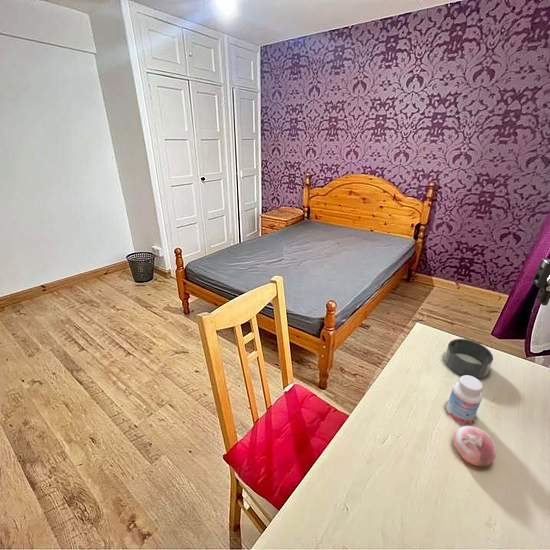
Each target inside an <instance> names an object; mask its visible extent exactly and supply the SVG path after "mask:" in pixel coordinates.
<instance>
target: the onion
mask: <svg viewBox="0 0 550 550" xmlns="http://www.w3.org/2000/svg"><path fill="white" fill-rule="evenodd" d="M452 441H453V445H454V448H455V450H456V452H457V453H458V454H459V456H460V457H461V458H462V459H463V460H464V461H466V462H467V463H468V464H471V465H473V466H475V467H487V466H490V465H491V464H492V463H493V462H494V461H495V459H496V458H497V446H496V444H495V442H494V440H493V439H492V437H491V436H490V435H489V434H488V433H487V432H486V431H485V430H483V429H481V428H479V427H476V426H473V425H463V426H460V427H459V428H457V430H455V431H454V434H453V436H452Z"/></svg>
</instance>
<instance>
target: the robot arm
mask: <svg viewBox="0 0 550 550" xmlns="http://www.w3.org/2000/svg"><path fill="white" fill-rule="evenodd" d="M531 282H532V283H533V284H535V286H536V287H537V288H538V289H539V291H538V294H537V296H536V299H537V301H538V302H539V304H540V305H541V306H548V304H549V301H550V259H549V258H548V257H543V258H541V261H540V263H539V265H538V267H537V269H536V271H535V273H534V276H533V278H532V281H531Z"/></svg>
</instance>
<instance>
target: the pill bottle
mask: <svg viewBox="0 0 550 550" xmlns="http://www.w3.org/2000/svg"><path fill="white" fill-rule="evenodd" d="M482 390H483V383H482V382H481V381H480V379H477V378H475V377H472V376H469V375H464V376H460V378H459V380H458V381H457V382H455V383H454V385H453V386H452V390H451V392H450V395H449V398H448V399H447V403H446V406H445V409H446V412H447V414H448V415H449V416H450V417H451V418H452V419H454V420H455V421H456V422H459V423H463V424H469V423H472V422H473V421H474V419H475V417H476V414H477V412H478V410H479V407H480V405H481V403H482V399H483V393H482Z"/></svg>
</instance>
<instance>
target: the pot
mask: <svg viewBox="0 0 550 550" xmlns="http://www.w3.org/2000/svg"><path fill="white" fill-rule="evenodd" d="M457 354H464V355H466V356H467V355H468V356H470V357H472V358H474V359H476V360H477V361H479V363H474V362H470V361H467V360H465V359H462V358H461V357H459V356H458V355H457ZM493 356H494V355H493V353H492V352H491V351H490V350H489V348H487V347H486V346H484V345H483V344H481V343H480V342H477V341H474V340H471V339H467V338H455V339H452V340H451V341H449V343H448V344H447V347H446V351H445V354H444V363H445V365H446V366H447V367H448V368H449V369H450V370H451V372H454V373H455V374H457V375H459V376H460V377H462V376H464V375H469V376H472V377H475V378H477V379H478V380H480V379H484V378H486V377H487V376H488V374H489V371H490V369H491V366H492V365H493V361H494V357H493Z"/></svg>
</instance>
